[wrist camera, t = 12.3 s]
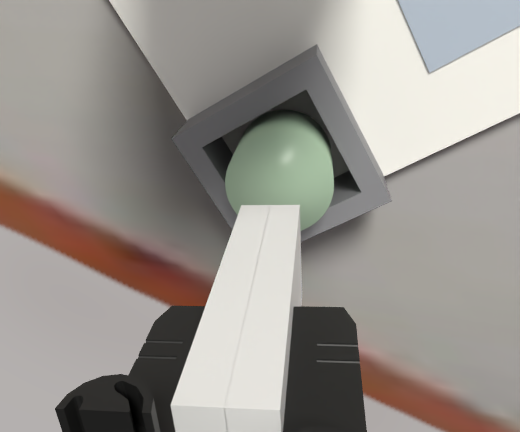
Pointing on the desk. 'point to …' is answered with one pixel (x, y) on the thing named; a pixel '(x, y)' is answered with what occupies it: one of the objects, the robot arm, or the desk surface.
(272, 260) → the robot arm
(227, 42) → the white button panel
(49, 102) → the desk surface
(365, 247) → the desk surface
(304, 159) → the button
